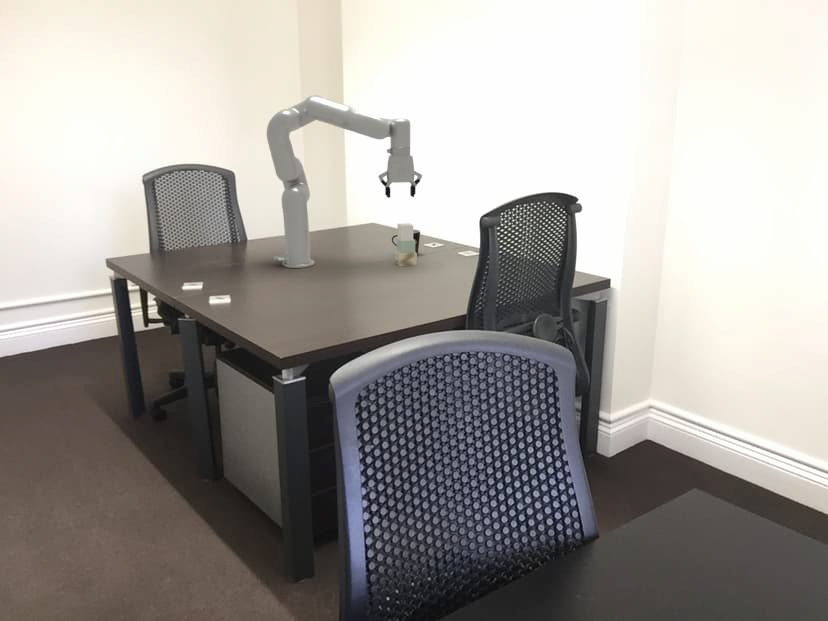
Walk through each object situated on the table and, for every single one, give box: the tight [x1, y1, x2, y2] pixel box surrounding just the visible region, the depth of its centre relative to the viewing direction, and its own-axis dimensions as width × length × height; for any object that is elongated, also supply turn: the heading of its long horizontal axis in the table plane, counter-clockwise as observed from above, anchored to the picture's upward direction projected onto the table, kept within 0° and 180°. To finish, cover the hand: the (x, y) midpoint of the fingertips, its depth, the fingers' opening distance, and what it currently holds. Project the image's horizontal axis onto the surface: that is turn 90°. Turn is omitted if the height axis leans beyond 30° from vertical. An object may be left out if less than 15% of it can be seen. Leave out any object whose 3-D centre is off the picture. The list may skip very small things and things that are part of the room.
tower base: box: [394, 250, 418, 267], centre depth 291 cm, size 7×7×5 cm
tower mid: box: [396, 237, 415, 254], centre depth 289 cm, size 6×6×5 cm
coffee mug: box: [391, 229, 421, 256], centre depth 305 cm, size 12×9×10 cm
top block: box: [397, 222, 414, 241], centre depth 287 cm, size 5×5×6 cm
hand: (400, 196), depth 284 cm, fingers open, 9 cm apart
